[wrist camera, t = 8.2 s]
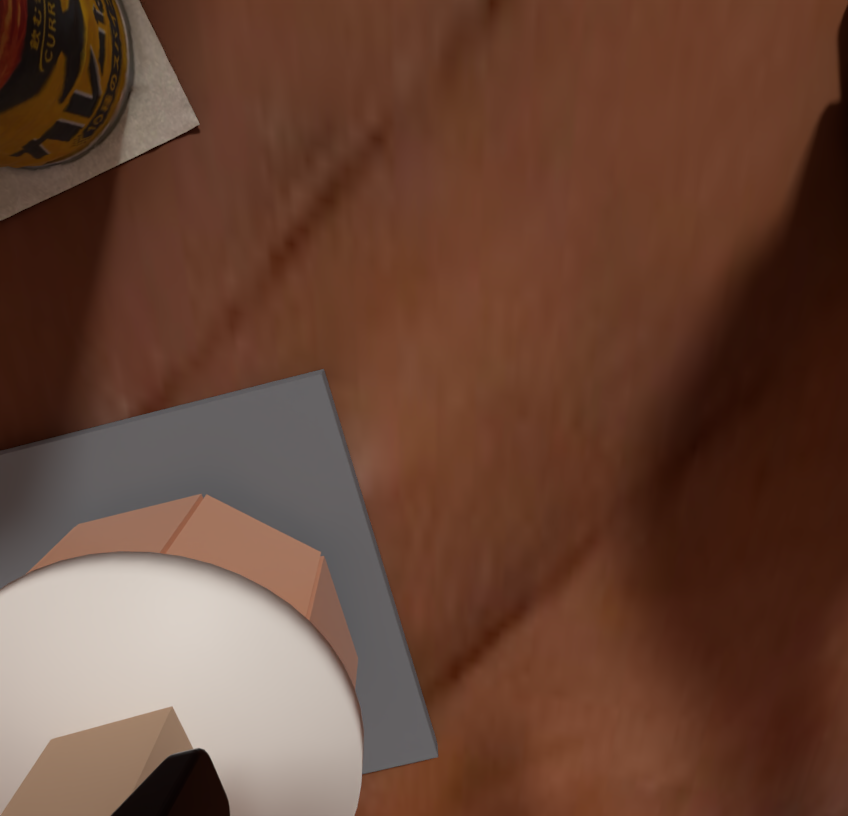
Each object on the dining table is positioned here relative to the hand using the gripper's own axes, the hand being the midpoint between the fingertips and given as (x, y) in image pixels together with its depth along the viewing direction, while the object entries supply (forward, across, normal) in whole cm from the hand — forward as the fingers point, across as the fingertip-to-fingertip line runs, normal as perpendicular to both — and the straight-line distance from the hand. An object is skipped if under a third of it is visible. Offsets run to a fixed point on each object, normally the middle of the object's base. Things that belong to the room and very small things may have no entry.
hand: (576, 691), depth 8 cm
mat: (+12, +10, +5) cm, 17 cm away
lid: (+7, +10, +5) cm, 13 cm away
